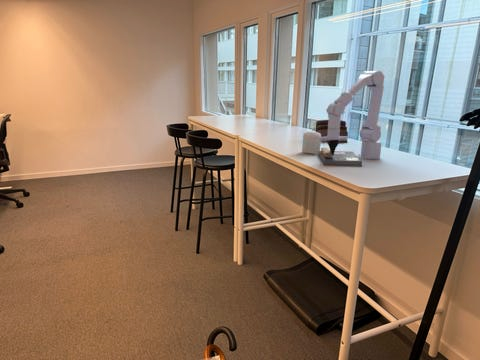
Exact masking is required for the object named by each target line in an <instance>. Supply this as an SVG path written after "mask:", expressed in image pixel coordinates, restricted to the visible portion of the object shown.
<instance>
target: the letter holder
mask: <svg viewBox="0 0 480 360" xmlns="http://www.w3.org/2000/svg"><path fill="white" fill-rule="evenodd" d="M328 120H329V119H320V120H317V121H316V122H315V132H318V133H320V134H321V137H325V136H327V135H328ZM348 135H349V132H348V127H347V122H346V121H345V120H342V119H341V120H340V133H339V136H347V137H348ZM348 138H349V137H348ZM330 140H332V139H330ZM322 142H327V141H322ZM339 144H348V140H347V141H345V140H340V141H339Z"/></svg>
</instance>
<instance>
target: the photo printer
mask: <svg viewBox="0 0 480 360" xmlns="http://www.w3.org/2000/svg"><path fill="white" fill-rule="evenodd" d="M319 137H321V134H320V133H318V132H316V131H313V130H312V131H311V130H309V131H308V130H307V131H305V132H303V135H302V146H301V147H302V148H301V152H302V153H305V154H312V155H318V154H319V151H321V142H320V141H319Z"/></svg>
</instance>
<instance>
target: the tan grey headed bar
mask: <svg viewBox="0 0 480 360" xmlns="http://www.w3.org/2000/svg"><path fill="white" fill-rule="evenodd" d="M320 151H321V152H322V153H323V155H324V157H328V158H332V153H331V152H330V148H329V147H320Z"/></svg>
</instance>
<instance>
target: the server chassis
mask: <svg viewBox="0 0 480 360" xmlns="http://www.w3.org/2000/svg"><path fill="white" fill-rule="evenodd" d="M317 157H319V159H320V161H321V164H322V165H323V166H336V167H337V166H342V167H343V166H345V167H362V166H363V160H362V158H361V157H359V156H358V155H357V154H356V153H354V151H344V150H343V151H341V150H340V151H339V150H335V151H334V155H332V158H328V157H324V155H323V153H322V152H321V150H320V151H319V154H318V156H317Z"/></svg>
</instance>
